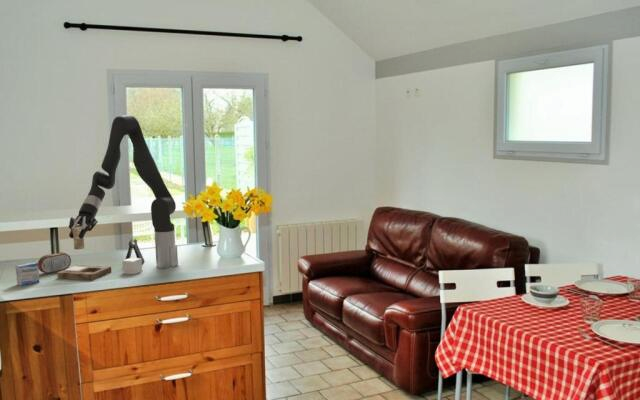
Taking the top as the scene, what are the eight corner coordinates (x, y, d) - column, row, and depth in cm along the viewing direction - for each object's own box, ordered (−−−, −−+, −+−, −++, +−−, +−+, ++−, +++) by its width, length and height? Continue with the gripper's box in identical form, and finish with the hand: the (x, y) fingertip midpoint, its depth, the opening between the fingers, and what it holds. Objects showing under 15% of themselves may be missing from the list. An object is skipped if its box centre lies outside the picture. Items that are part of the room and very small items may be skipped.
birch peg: (86, 247, 275) (84, 226, 274) (80, 249, 271) (78, 228, 270) (78, 247, 276) (76, 226, 275) (72, 249, 272) (70, 227, 271)
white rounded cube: (142, 271, 276) (141, 258, 275) (134, 274, 271) (133, 261, 270) (131, 270, 278) (130, 257, 277) (123, 273, 273) (122, 260, 272)
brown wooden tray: (111, 271, 275) (111, 266, 275) (92, 280, 262) (92, 274, 261) (77, 270, 280) (77, 264, 279) (57, 278, 266) (57, 272, 266)
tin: (69, 267, 285) (67, 250, 284) (72, 268, 283) (71, 251, 282) (38, 274, 273) (36, 256, 272) (41, 275, 271) (39, 257, 270)
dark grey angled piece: (123, 265, 286) (122, 241, 285) (125, 262, 292) (124, 238, 291) (142, 264, 288) (141, 240, 286) (144, 261, 293) (143, 238, 292)
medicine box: (21, 286, 254) (19, 266, 253) (16, 284, 257) (15, 265, 256) (39, 282, 260) (38, 263, 259) (35, 280, 263) (33, 261, 262)
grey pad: (87, 267, 274) (87, 266, 274) (77, 271, 267) (77, 270, 267) (74, 266, 276) (74, 266, 276) (64, 270, 269) (64, 270, 269)
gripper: (73, 202, 280) (57, 232, 270) (99, 202, 276) (84, 233, 266) (81, 211, 286) (66, 241, 276) (107, 212, 282) (93, 242, 272)
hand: (75, 237), depth 271 cm, fingers closed on birch peg, 4 cm apart
